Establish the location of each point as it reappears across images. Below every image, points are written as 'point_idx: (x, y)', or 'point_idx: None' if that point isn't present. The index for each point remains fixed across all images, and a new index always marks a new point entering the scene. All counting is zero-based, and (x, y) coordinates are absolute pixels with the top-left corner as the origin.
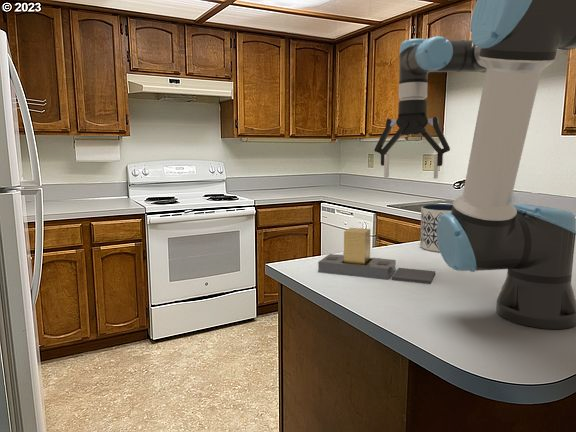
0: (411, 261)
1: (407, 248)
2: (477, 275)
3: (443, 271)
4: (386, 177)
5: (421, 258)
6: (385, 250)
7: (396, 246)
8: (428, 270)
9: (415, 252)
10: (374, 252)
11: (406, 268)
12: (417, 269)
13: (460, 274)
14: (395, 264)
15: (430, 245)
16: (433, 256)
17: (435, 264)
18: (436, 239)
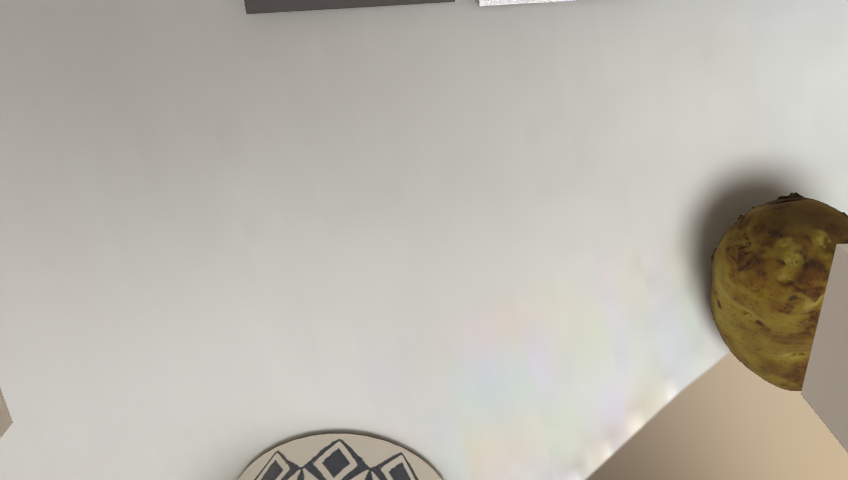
0: (431, 216)
1: (507, 450)
2: (47, 81)
3: (224, 85)
4: (839, 245)
5: (396, 293)
6: (609, 376)
7: (568, 467)
8: (283, 11)
9: (452, 393)
10: (659, 317)
11: (409, 1)
12: (346, 6)
13: (128, 62)
14: (477, 2)
15: (386, 457)
16: (349, 352)
17: (300, 207)
18: (351, 478)
